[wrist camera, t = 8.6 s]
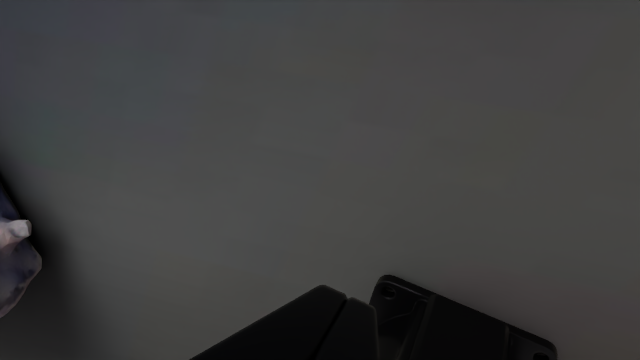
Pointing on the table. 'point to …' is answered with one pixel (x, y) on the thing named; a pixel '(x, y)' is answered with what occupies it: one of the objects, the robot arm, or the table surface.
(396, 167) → the table surface
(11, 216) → the cell model
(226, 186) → the table surface
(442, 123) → the table surface
